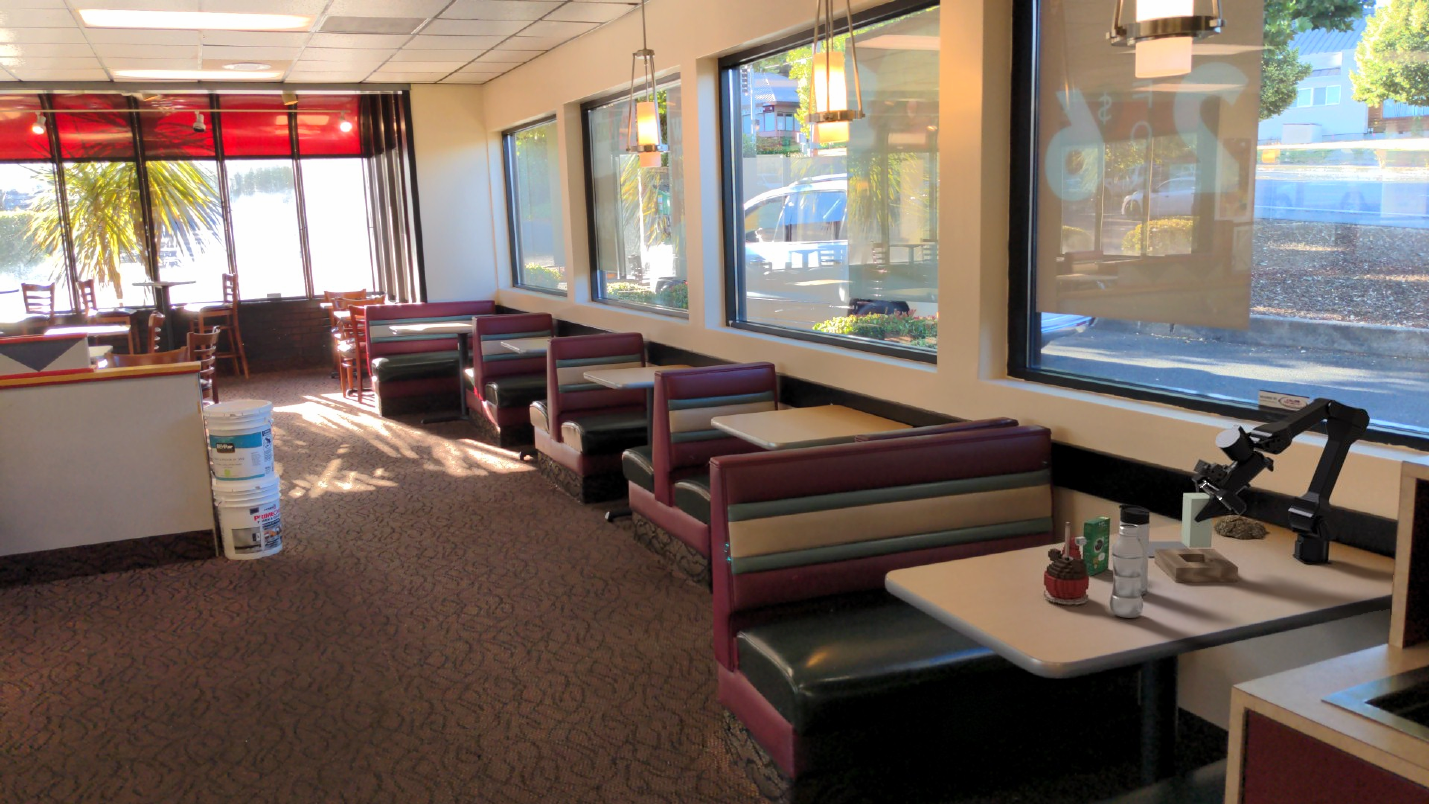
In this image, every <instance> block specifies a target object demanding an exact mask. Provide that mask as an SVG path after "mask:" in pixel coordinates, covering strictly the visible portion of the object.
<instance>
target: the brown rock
mask: <svg viewBox="0 0 1429 804" xmlns="http://www.w3.org/2000/svg"><path fill="white" fill-rule="evenodd" d="M1213 528H1214V531H1215V532H1216V534H1217V535H1219V536H1223V537H1234V538H1235V539H1237V540H1245V539H1246V540H1251V539H1261V538H1263V537H1264V535H1265V534H1264V533H1266V534H1267V529H1266V527H1265V525H1264V524H1263V523H1262V522H1261V521H1258V520H1254V519H1251V518H1247V517H1245V516H1241V515H1239V514H1236V515H1234V514H1232V515H1231V514H1229V515H1228V514H1227V515H1223V516H1220V517H1219V518H1218V519H1217V521H1216V522H1215V524H1214V525H1213ZM1262 536H1263V537H1262Z"/></svg>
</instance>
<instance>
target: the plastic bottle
mask: <svg viewBox="0 0 1429 804" xmlns="http://www.w3.org/2000/svg"><path fill="white" fill-rule="evenodd" d="M1118 527H1119V530H1118V535H1120V537H1119V536H1118V537H1117V539H1116V540H1115V541H1114V542H1113V543H1112V545H1111V548H1110V551H1111V559H1112V560H1111V561H1112V570H1113V571H1112V572H1113V574H1112V575H1113V577H1112V578H1113V580H1112V588H1111V589H1112V590H1111V594H1110V598H1109V607H1110V608H1109V609H1110V611H1111V612H1112V614H1113V615H1115V616H1117V617H1120V618H1126V619H1135V618H1138V617H1140V615H1142V613H1143V609H1144V602H1143V595H1142V596H1141V569H1142V563H1143V558H1144V548H1143V546H1142V544H1141V542H1140V541H1139V540H1138V538H1137V536H1138V535H1139V533H1138V526H1137V525H1133V524H1121V525H1120V524H1119V526H1118Z"/></svg>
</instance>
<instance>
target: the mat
mask: <svg viewBox="0 0 1429 804" xmlns="http://www.w3.org/2000/svg"><path fill="white" fill-rule="evenodd" d="M1155 549H1190V548H1189V547H1188V546H1186V545H1185V544H1184V543H1183V542H1181V541H1179V540H1178V541H1175V540H1173V541H1163V540H1162V541H1157V540H1156V541H1149V553H1148V559H1150V558H1151V559H1152V558H1154V559H1155Z"/></svg>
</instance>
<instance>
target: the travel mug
mask: <svg viewBox="0 0 1429 804" xmlns="http://www.w3.org/2000/svg"><path fill="white" fill-rule="evenodd" d="M1118 509H1120V511H1119V512H1120V513H1119V514H1120V515H1119V516H1120V517H1119V526H1120V525H1121V524H1133V525H1137V526H1138V533H1139V535H1138V536H1137V538H1138V540H1139V541H1140V542H1141V544H1142V546H1143V548H1144V558H1143V563H1142V569H1141V595H1142V596H1144V595H1143V594H1145V595H1146V594H1147V593H1148V575H1149V558H1148V553H1149V542H1150V523H1151V522H1150V521H1151V520H1150V518H1151V517H1150V516H1151V515H1150V513H1151V512H1150V510H1149V509H1147V508H1146V507H1143V506H1140V505H1135V504H1134V505H1133V504H1126V503H1122V504H1119V505H1118ZM1118 535H1119V534H1118ZM1119 537H1120V535H1119V536H1118V538H1119Z"/></svg>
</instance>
